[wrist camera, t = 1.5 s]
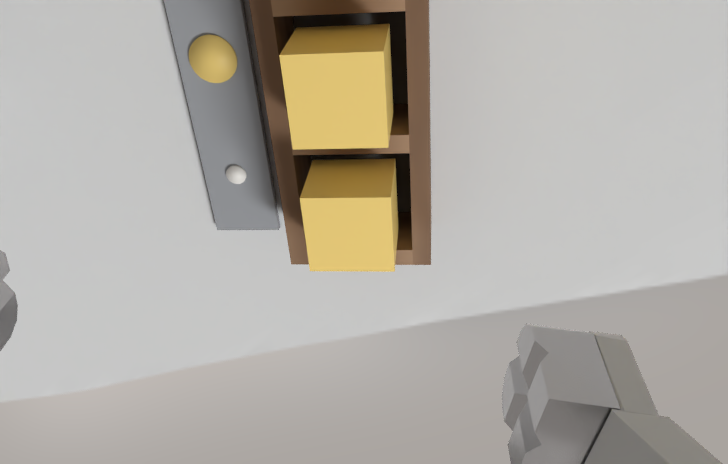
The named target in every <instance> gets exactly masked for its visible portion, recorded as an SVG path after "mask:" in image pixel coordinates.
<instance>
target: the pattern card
mask: <svg viewBox="0 0 728 464" xmlns="http://www.w3.org/2000/svg"><path fill="white" fill-rule="evenodd" d="M164 4H165V8H166V13H167V17H168V21H169V25H170V30H171V34H172V38H173V43H174V47H175V51H176V55H177V60H178V64H179V68H180V73H181V77H182V81H183V85H184V90H185V94H186V98H187V102H188V107H189V111H190V115H191V120H192V124H193V128H194V132H195V137H196V141H197V145H198V150H199V154H200V158H201V162H202V167H203V171H204V175H205V180H206V184H207V188H208V192H209V197H210V201H211V205H212V210H213V214H214V218H215V222H216V227H217V230H279V228H280V222H279V216H278V210H277V204H276V198H275V192H274V186H273V180H272V174H271V168H270V162H269V156H268V150H267V144H266V138H265V132H264V126H263V120H262V114H261V108H260V102H259V96H258V90H257V84H256V78H255V73H254V67H253V61H252V55H251V49H250V43H249V37H248V31H247V25H246V19H245V13H244V7H243V1H242V0H164Z"/></svg>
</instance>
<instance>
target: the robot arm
mask: <svg viewBox="0 0 728 464" xmlns="http://www.w3.org/2000/svg"><path fill="white" fill-rule="evenodd" d="M9 271H10V269H9V265H8V261H7V258H6V254H5V253H4V252H3V251H1V250H0V351H1V350H2V348H3V347H4V345H5V344H6V343H7V341H8V340H9V339H10V337H11V335H12V332H13V329H14V326H15V324H16V321H17V307H18V305H17V300H16V295H15V292H14V291H13V290H12V289H11V288H10V287H9V286H8V285H7V284H6V283H5V282H4V281H3V279H4V278H5V276H6V275H7V274H8V272H9ZM517 346H518V352H519V357H517V358H516V359H514V360H513V361H511V362H510V363H509V366H508V369H507V372H506V375H505V378H504V385H503V392H502V408H503V416H504V421H505V422H506V424H507V425H508V426H509V427H510V428H511V429H512V430H513V433H512V435H511V438H510V440H509V443H508V449H509V455H510V461H511V464H722V463H721V462H720V461H719V460H718V459H716V458H715V457H714V456H713V455H712V454H711V453H710V452H708V451H707V450H706V449H705V448H704V447H703V446H702V445H700V444H699V443H698V442H697V441H696V440H695V439H693V438H692V437H691V436H690V435H689V434H688V433H686V432H685V431H684V430H683V429H681V427H679V426H678V425H677V424H676V423H675V422H674V421H672V420H671V419H670V418H669V417H664V416H659V415H658V413H657V410H656V408H655V405H654V403H653V401H652V398H651V396H650V394H649V391H648V389H647V387H646V384H645V382H644V379H643V377H642V375H641V372H640V370H639V368H638V365H637V363H636V361H635V359H634V356H633V353H632V351H631V349H630V346H629V344H628V342H627V340H626V339H625V338H624V337H623V336H622V335H616V334H608V333H599V332H585V331H577V330H570V329H562V328H555V327H548V326H540V325H532V324H525V326H524V327H523V328H522V330H521V332H520V335H519V337H518V340H517Z"/></svg>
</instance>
